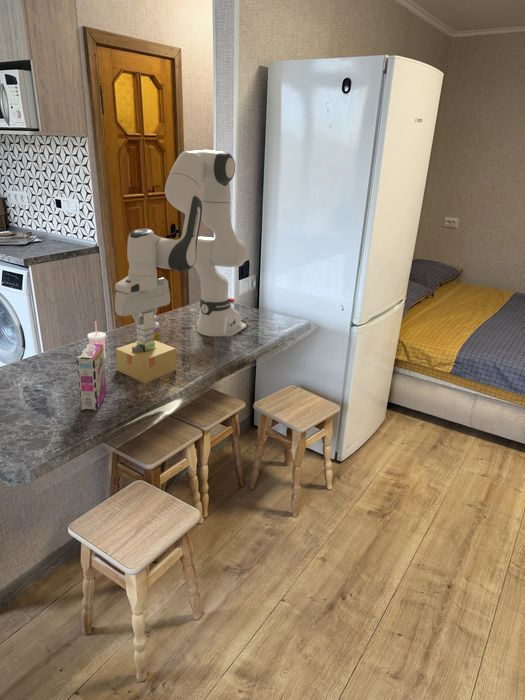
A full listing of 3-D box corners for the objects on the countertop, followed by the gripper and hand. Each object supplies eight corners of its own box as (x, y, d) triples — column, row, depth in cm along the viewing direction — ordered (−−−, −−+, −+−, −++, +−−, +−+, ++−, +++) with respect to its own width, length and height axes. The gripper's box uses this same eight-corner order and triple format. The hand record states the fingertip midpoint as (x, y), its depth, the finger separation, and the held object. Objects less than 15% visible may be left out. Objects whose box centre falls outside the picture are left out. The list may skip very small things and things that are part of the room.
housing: (149, 358, 175) (148, 334, 171) (176, 369, 167) (176, 344, 163) (116, 370, 164) (114, 344, 160) (144, 383, 156) (143, 356, 153)
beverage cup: (96, 353, 176) (93, 317, 171) (111, 356, 175) (108, 319, 169) (85, 359, 171) (82, 322, 165) (100, 362, 169) (97, 325, 164)
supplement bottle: (155, 352, 180) (154, 319, 175) (139, 350, 181) (137, 317, 176) (162, 346, 186) (161, 314, 181) (146, 344, 187) (145, 312, 182)
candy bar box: (98, 411, 139) (94, 358, 132) (80, 410, 138) (75, 358, 132) (107, 393, 149) (103, 343, 143) (91, 392, 149) (86, 343, 142)
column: (147, 353, 166) (145, 308, 160) (155, 356, 164) (153, 311, 158) (137, 356, 163) (135, 311, 157) (145, 360, 161) (143, 314, 155)
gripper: (161, 275, 163) (162, 313, 169) (110, 285, 148) (113, 327, 153) (174, 278, 160) (174, 318, 165) (123, 289, 145) (126, 332, 150)
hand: (144, 322), depth 159 cm, fingers closed on column, 4 cm apart
